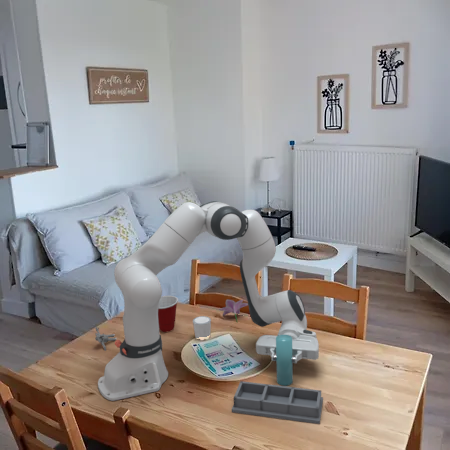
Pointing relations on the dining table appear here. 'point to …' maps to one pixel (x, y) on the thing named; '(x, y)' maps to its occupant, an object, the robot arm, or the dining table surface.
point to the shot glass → (202, 326)
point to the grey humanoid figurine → (103, 338)
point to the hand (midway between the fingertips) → (283, 360)
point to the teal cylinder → (284, 360)
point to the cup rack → (278, 402)
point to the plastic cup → (167, 313)
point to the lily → (233, 307)
